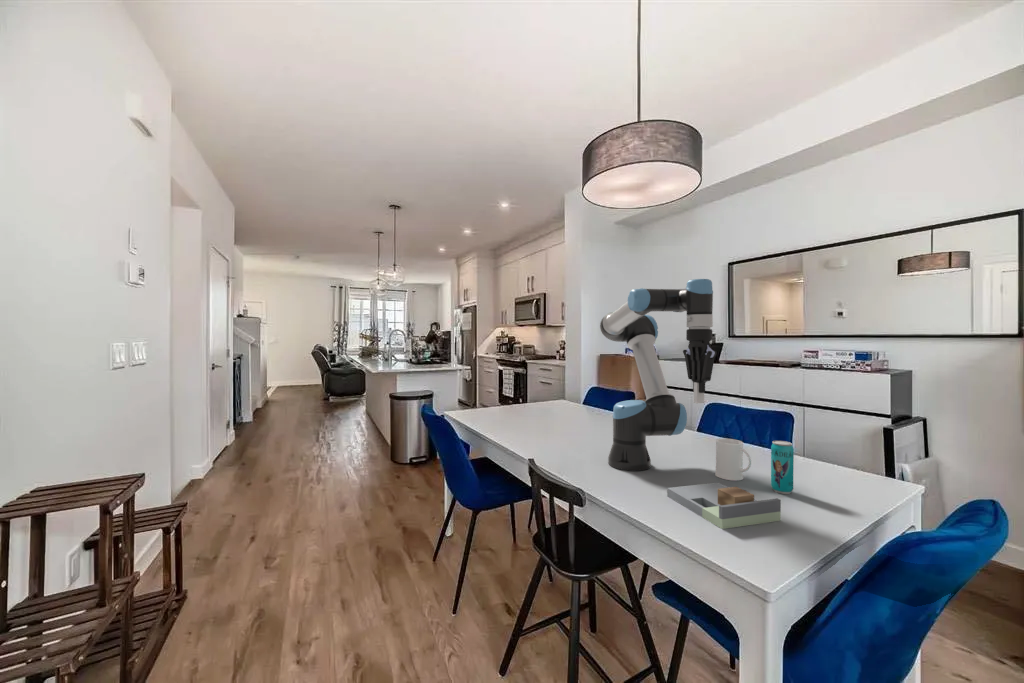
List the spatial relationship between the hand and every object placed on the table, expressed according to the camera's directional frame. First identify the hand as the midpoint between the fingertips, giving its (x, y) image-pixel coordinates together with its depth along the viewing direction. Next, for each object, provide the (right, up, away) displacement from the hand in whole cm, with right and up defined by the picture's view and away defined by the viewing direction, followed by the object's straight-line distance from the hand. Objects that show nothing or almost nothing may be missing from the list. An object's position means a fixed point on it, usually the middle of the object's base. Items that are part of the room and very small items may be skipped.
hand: (698, 402), depth 133 cm
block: (0, -24, -22) cm, 33 cm away
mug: (+15, -27, +7) cm, 31 cm away
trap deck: (-2, -27, -17) cm, 31 cm away
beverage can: (+23, -27, -5) cm, 36 cm away
